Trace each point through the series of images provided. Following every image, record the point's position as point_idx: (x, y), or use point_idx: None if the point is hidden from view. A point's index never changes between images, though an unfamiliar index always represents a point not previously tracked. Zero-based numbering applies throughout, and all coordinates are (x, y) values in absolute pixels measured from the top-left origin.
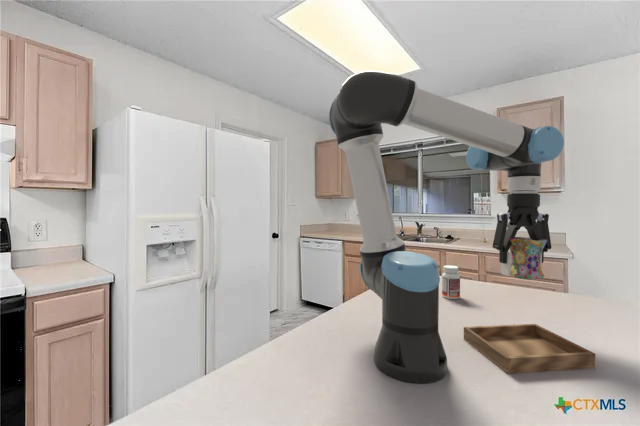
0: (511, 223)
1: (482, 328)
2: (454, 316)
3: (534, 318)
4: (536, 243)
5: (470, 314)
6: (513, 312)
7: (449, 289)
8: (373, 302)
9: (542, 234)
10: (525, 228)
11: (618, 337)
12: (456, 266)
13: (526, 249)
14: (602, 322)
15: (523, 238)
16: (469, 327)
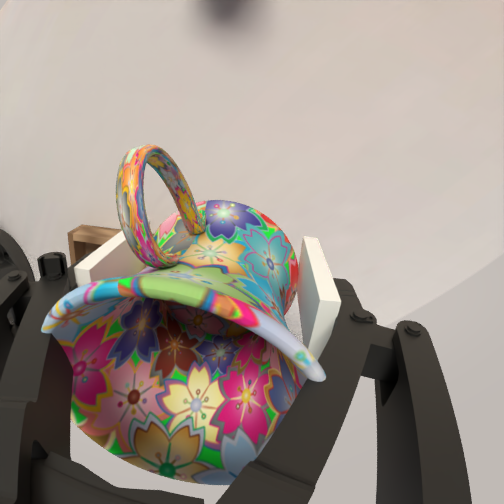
0: (3, 456)
1: (100, 243)
2: (127, 96)
3: (347, 154)
4: (167, 461)
5: (180, 86)
6: (328, 98)
7: None
8: (21, 14)
9: (390, 443)
10: (247, 465)
11: (409, 293)
12: None
13: (138, 406)
14: (469, 228)
15: (263, 336)
16: (76, 237)
